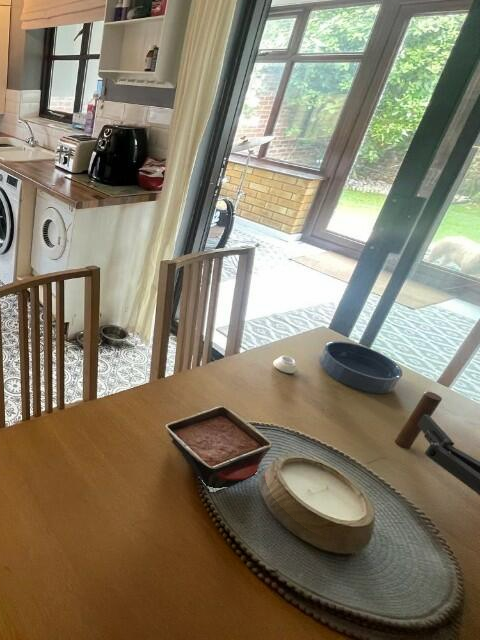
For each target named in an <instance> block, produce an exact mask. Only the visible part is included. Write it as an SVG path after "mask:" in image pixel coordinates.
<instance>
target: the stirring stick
mask: <svg viewBox="0 0 480 640" xmlns="http://www.w3.org/2000/svg"><path fill="white" fill-rule="evenodd" d="M442 400H443V398H442V396H440V395H439V394H437V393H435V392H432V391H425V392H424V393H423V395H422V396H421V398H420V400H419V401H418V403H417V404H416V406H415V407H414V408H413V410H412V412H411V414H410V415H409V416H408V419H407V420H406V421H405V423H404V425H403V427H402V428H401V430H400V431H399V433H398V434H397V436H396V438H394V440H393V442H394V443H395V445H396V446H397V447H399V448H402V449H404V450H410V448H411V447H412V445H413V444H414V443H415V442H416V440H417V438H418V436H419V435H420V433H421V432H422V430H421V429H420V428H419V427H418V426H417V424H418V422H419V421H420V419H421V418H422V416H423V415H424V414H425V415H429V416H430V417H431V418H432V415H433V414H434V412H435V411H436V409H437V408H438V406H439V405H440V403H441V402H442Z"/></svg>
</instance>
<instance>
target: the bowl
mask: <svg viewBox="0 0 480 640" xmlns="http://www.w3.org/2000/svg"><path fill="white" fill-rule="evenodd" d="M318 361H319V365H320V366H321V367H322V369H323V370H324V372H325V373H327V374H328V375H329V376H330V377H331V378H333V379H334V380H336V381H338V382H339V383H341V384H343V385H345V386H347V387H349V388H352V389H354V390H358V391H361V392H365V393H371V394H388V393H391V392H393V391H394V390H395V389H396V387H397V385H398V384H399V382H400V380H401V379H402V377H403V370H402V368H401V366H400V365H398V364H397V362H395V361H394V360H393V359H391V358H389V357H388V356H387V355H385V354H383V353H381V352H379V351H376V350H375V349H372V348H370V347H367V346H364V345H360V344H357V343H353V342H348V341H331V342H328V343H327V344H325V345H324V348H323V350H322V352H321V354H320V356H319V359H318Z"/></svg>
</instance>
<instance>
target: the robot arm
mask: <svg viewBox="0 0 480 640" xmlns="http://www.w3.org/2000/svg"><path fill="white" fill-rule="evenodd" d="M417 426H418V427H419V428H420V429H421V432H422V433H423V438H424V439H425V440H426V441H427V442H428V444H429V446H428V447H427V449H426V450H425V452H424V455H425V456H426V457H427V458H429V459H430V460H431V461H433V463H436V464H437V465H439V466H440V467H441V468H442V469H444V470H445V471H447V472H448V473H449V474H450V475H452V476H453V477H454V478H456V479H457V480H459V482H461V483H462V484H464V485H465V486H467V487H468V488H470V490H472V492H475V493H476V494H477V495H478V496H479V497H480V460H478V459H476V458H474V457H473V456H471V455H468V454H467V453H465V452H463V451H462V450H460V449H459V448H457V447H455V446H454V445H455V442H454V441H453V440H452V439H451V438H450V437H449V436H448V435H447V434H446V432H445V431H444V430H443V429H442V428H441V427H440V426H439V425H438V423H436V420H434V419H433V418H432V416H431V417H430V416H429V415H425V414H424V415H423V416H422V418H421V419H420V421H419V422H418V424H417Z"/></svg>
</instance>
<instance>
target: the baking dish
mask: <svg viewBox="0 0 480 640" xmlns="http://www.w3.org/2000/svg"><path fill="white" fill-rule="evenodd" d="M165 430H166V431H167V434H168V435H169V437H170V438H171V439H172V440H171V441H170V442H171V443H172V444H173V445H174V446H175V448H176V449H177V450H178V451H179V452H180V453H181V455H182V456H183V458H184V460H185V461H186V462H187V464H188V465H189V466H190V469H191V470H192V471H193V473H194V474H195V476H197V475H198V476H199V477H200V478H201V479H202V480H203V482H204V483H205V484H206V486H209V487H213V488H222V487H229V488H231V487H230V486H232V487H234V486H236V485H238V484H240V483H239V482H241V483H243V482H245V481H247V480H249V479H251V478H253V477H255V476H256V475H255V473H256V472H258V469H259V466H260V464H261V462H262V460H263V459H264V457H265V456H266V455H267V454H268V452H269V451H271V449H272V447H273V443H272V441H271V440H270V439H268V437H267V436H266V435H265V434H263V433H262V432H261V431H260V430H259V429H257V428H256V427H254V426H253V425H252V424H251V423H250V422H249V421H248V420H246V419H245V418H243V417H242V416H241V415H239V414H238V413H236V412H235V411H234V410H232V409H230V408H229V407H227V406H224V405H217V406H216V407H211V408H208V409H206V410H203V411H200V412H198V413H195V414H193V415H190V416H186V417H184V418H181V419H178V420H175V421H172V422H171V421H170V422H169V423H167V424H165ZM254 475H255V476H254ZM252 476H253V477H252ZM250 477H251V478H250ZM248 478H249V479H248ZM246 479H247V480H246ZM244 480H245V481H244ZM242 481H243V482H242ZM237 483H238V484H237ZM235 484H236V485H235ZM233 485H234V486H233Z"/></svg>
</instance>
